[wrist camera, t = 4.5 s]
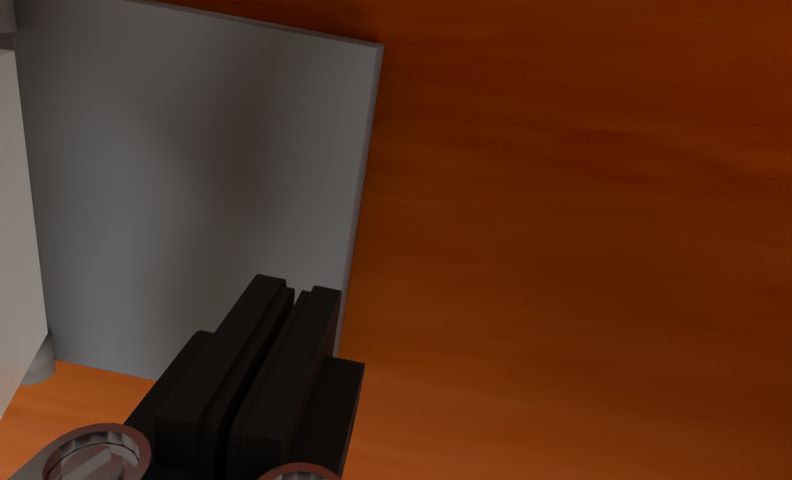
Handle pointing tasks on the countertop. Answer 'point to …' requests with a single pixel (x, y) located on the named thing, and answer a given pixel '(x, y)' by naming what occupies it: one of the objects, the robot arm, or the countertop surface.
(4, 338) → the tile
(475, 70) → the countertop surface
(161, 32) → the board
